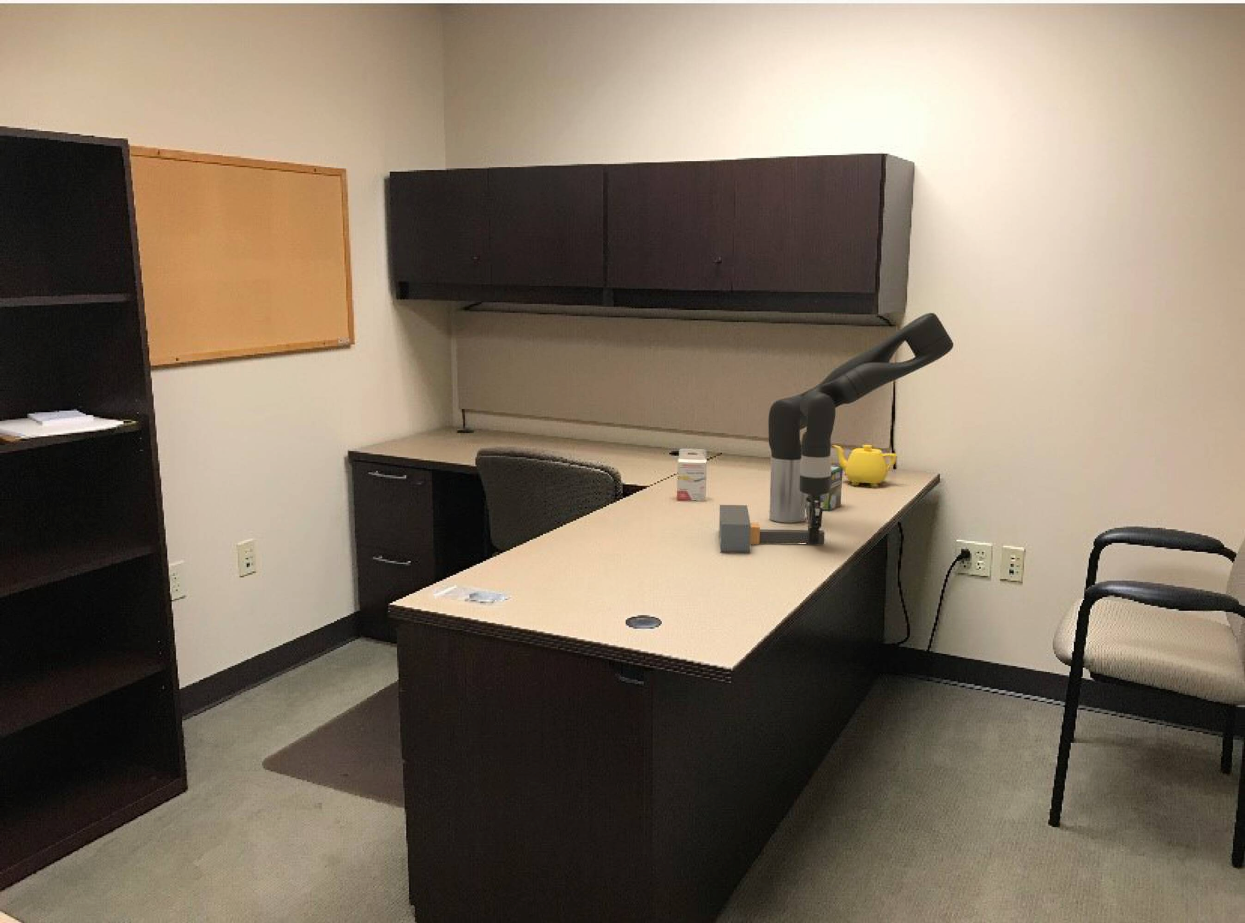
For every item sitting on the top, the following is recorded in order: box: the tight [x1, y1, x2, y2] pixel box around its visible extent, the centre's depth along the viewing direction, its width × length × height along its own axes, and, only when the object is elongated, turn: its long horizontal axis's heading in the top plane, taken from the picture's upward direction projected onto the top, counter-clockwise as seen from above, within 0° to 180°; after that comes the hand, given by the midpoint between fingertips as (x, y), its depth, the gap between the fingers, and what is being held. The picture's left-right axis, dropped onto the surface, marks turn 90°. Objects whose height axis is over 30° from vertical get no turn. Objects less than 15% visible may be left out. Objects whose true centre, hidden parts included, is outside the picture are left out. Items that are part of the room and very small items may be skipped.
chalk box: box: [805, 464, 844, 512], centre depth 291 cm, size 9×9×15 cm
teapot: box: [833, 444, 898, 488], centre depth 321 cm, size 13×20×12 cm
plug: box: [750, 522, 825, 545], centre depth 254 cm, size 20×4×4 cm, turn 87°
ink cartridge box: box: [676, 448, 708, 502], centre depth 300 cm, size 9×5×15 cm, turn 84°
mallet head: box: [718, 504, 751, 553], centre depth 254 cm, size 7×20×7 cm, turn 176°
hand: (813, 540), depth 254 cm, fingers closed on plug, 2 cm apart
